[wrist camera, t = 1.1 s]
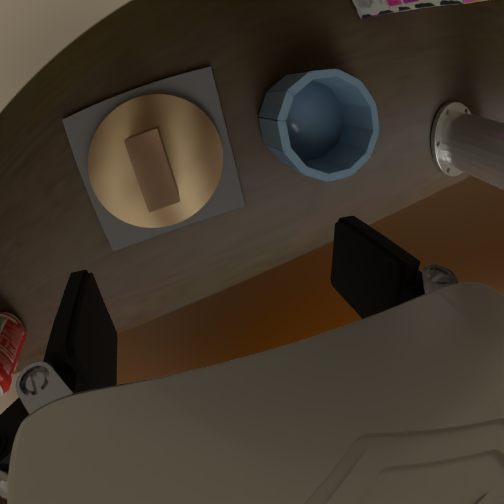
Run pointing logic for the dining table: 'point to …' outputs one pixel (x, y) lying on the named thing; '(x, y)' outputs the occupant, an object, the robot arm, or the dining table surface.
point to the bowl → (320, 123)
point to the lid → (155, 160)
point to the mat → (184, 86)
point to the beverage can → (9, 348)
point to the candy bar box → (398, 6)
